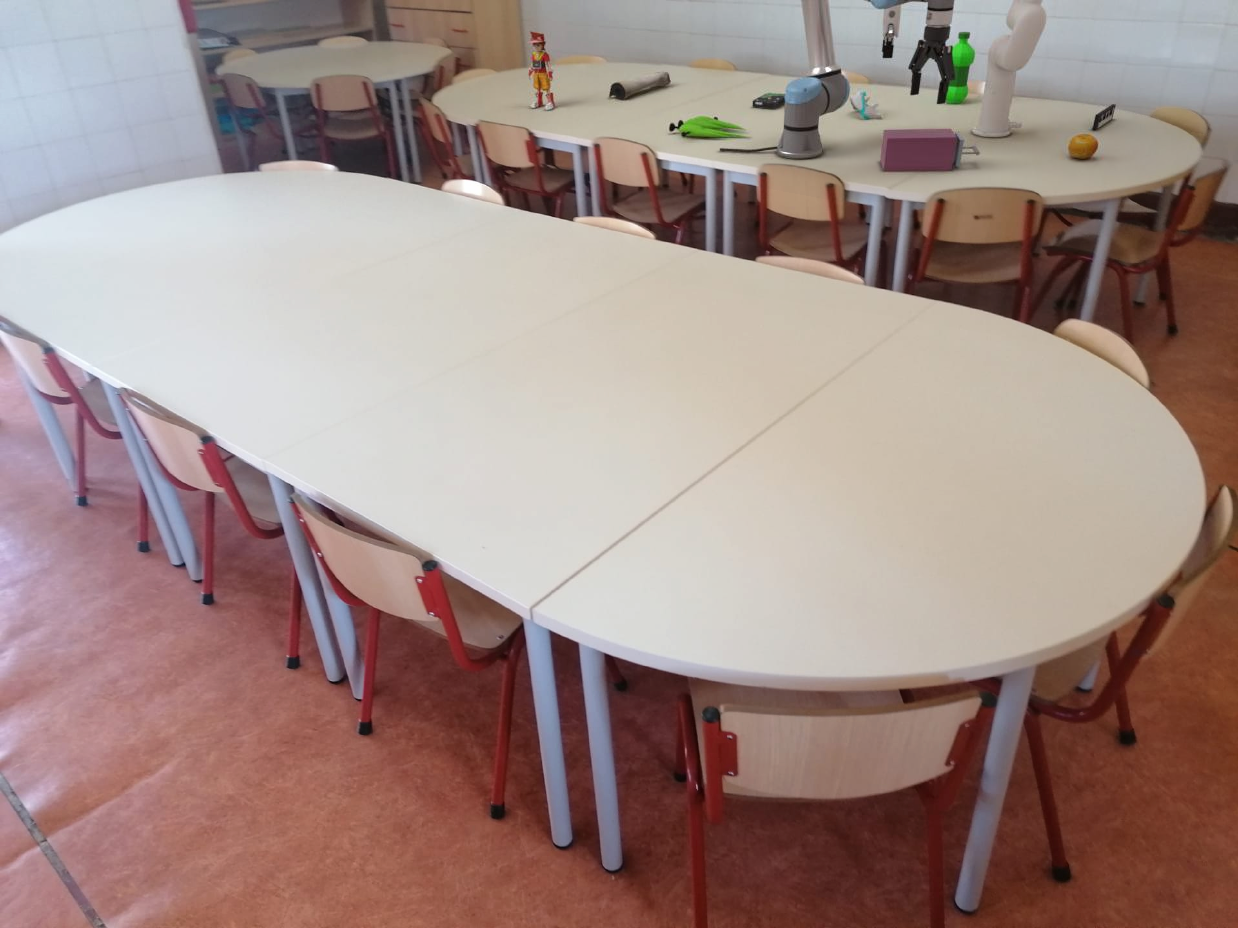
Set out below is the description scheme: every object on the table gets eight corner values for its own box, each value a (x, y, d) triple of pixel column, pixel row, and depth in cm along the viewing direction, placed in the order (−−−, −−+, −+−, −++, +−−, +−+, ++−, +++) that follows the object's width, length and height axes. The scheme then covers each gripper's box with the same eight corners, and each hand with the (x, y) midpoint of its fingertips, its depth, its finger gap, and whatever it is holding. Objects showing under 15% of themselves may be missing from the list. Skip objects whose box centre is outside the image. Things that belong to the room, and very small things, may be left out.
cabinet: (946, 161, 294) (951, 128, 288) (951, 170, 286) (956, 137, 280) (880, 161, 297) (883, 129, 291) (883, 171, 289) (887, 138, 283)
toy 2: (658, 135, 331) (731, 150, 319) (659, 121, 329) (733, 135, 316) (693, 123, 352) (763, 136, 339) (694, 110, 349) (765, 122, 336)
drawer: (973, 158, 292) (977, 131, 287) (978, 166, 285) (983, 139, 280) (892, 159, 295) (895, 133, 291) (895, 167, 288) (899, 141, 283)
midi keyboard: (1095, 130, 313) (1099, 115, 310) (1091, 129, 314) (1095, 115, 311) (1112, 119, 323) (1116, 104, 320) (1108, 118, 324) (1112, 104, 321)
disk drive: (775, 110, 359) (790, 101, 369) (775, 102, 358) (790, 94, 368) (751, 108, 364) (767, 99, 374) (752, 100, 362) (767, 92, 372)
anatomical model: (844, 88, 347) (870, 81, 346) (847, 115, 353) (872, 108, 352) (856, 97, 335) (882, 90, 334) (858, 125, 341) (884, 118, 340)
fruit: (1064, 149, 286) (1082, 126, 283) (1061, 151, 293) (1078, 129, 290) (1086, 163, 284) (1105, 141, 281) (1083, 166, 292) (1101, 144, 289)
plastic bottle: (973, 101, 354) (984, 32, 339) (955, 106, 349) (966, 36, 335) (952, 97, 361) (962, 29, 346) (934, 102, 356) (944, 33, 342)
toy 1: (525, 109, 381) (517, 32, 364) (534, 104, 388) (527, 28, 371) (550, 110, 377) (543, 32, 360) (559, 105, 384) (553, 28, 367)
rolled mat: (651, 76, 408) (662, 61, 399) (662, 93, 408) (674, 79, 400) (605, 92, 391) (616, 77, 383) (617, 110, 391) (628, 95, 383)
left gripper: (902, 21, 279) (894, 92, 291) (953, 33, 260) (942, 109, 272) (923, 18, 281) (913, 89, 293) (975, 30, 262) (962, 106, 274)
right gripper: (906, 2, 286) (899, 60, 295) (903, -6, 300) (897, 50, 309) (881, 3, 287) (875, 60, 297) (880, -5, 301) (875, 50, 311)
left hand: (927, 99), depth 283 cm, fingers open, 13 cm apart
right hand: (887, 55), depth 303 cm, fingers open, 9 cm apart
